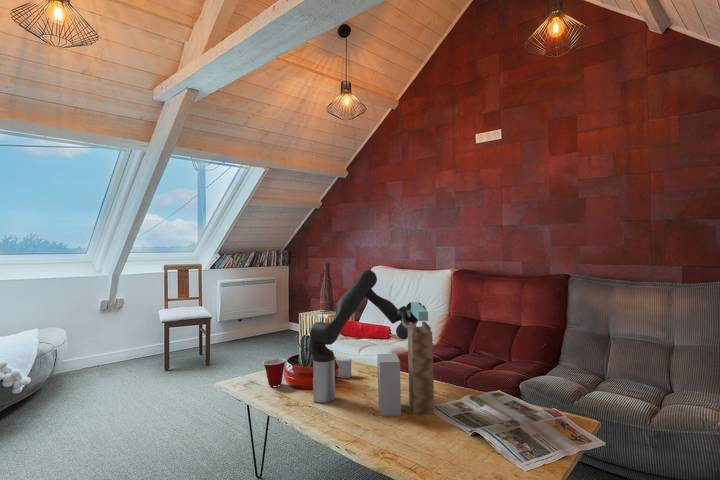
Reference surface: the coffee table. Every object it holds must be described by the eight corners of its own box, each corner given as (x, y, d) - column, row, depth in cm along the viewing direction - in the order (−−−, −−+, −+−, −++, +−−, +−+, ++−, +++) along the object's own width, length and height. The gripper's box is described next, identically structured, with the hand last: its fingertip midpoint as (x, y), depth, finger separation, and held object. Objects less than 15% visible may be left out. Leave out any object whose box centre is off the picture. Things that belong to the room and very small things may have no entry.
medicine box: (351, 375, 214) (351, 358, 214) (350, 378, 210) (350, 360, 210) (336, 375, 215) (336, 358, 215) (335, 377, 211) (334, 360, 211)
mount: (413, 415, 163) (411, 328, 164) (409, 403, 175) (407, 322, 176) (434, 414, 164) (432, 327, 164) (428, 402, 176) (426, 321, 176)
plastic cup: (275, 380, 209) (274, 356, 209) (290, 384, 203) (290, 359, 203) (258, 386, 200) (257, 361, 200) (274, 390, 194) (273, 364, 194)
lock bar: (419, 321, 160) (418, 311, 160) (409, 310, 186) (408, 302, 186) (428, 320, 160) (428, 311, 160) (416, 309, 186) (416, 301, 186)
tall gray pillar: (380, 416, 163) (379, 362, 163) (378, 404, 175) (377, 354, 175) (401, 415, 163) (399, 361, 163) (397, 403, 175) (396, 353, 175)
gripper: (394, 311, 197) (397, 296, 182) (424, 310, 197) (430, 296, 182) (395, 326, 193) (399, 313, 178) (426, 325, 193) (432, 312, 178)
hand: (414, 304), depth 180 cm, fingers closed on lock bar, 3 cm apart
